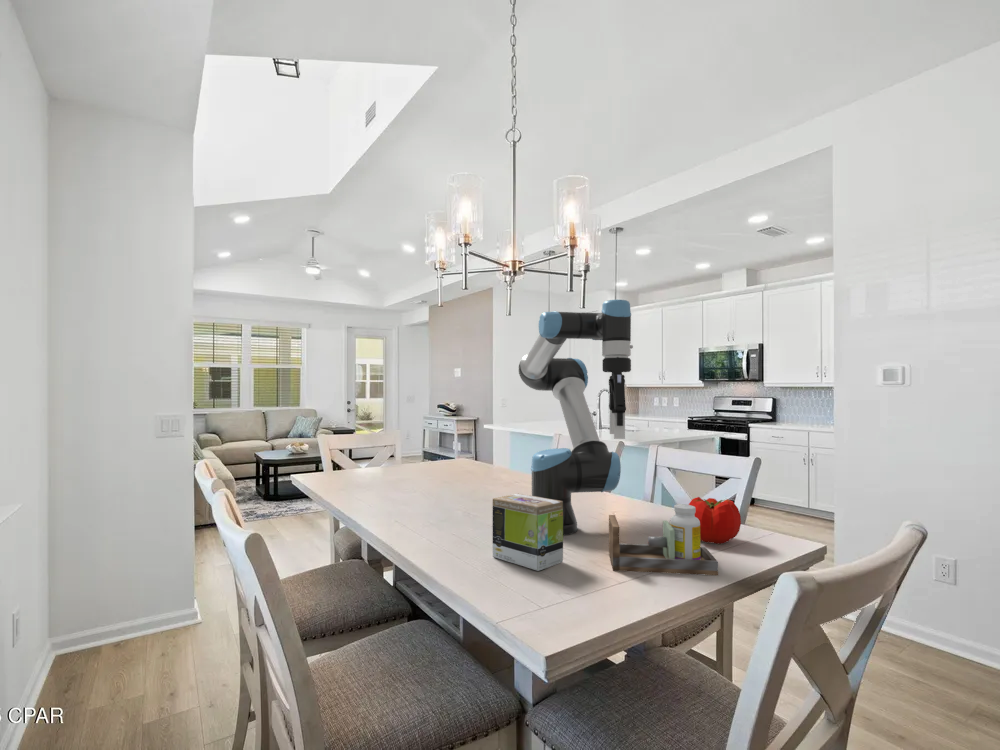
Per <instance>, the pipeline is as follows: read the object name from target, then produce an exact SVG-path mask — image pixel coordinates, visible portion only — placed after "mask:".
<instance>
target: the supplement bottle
mask: <svg viewBox="0 0 1000 750" xmlns="http://www.w3.org/2000/svg"><path fill="white" fill-rule="evenodd" d="M673 509H674V510H673V511H674V513H675V515H673V516H671V518H670V522H669V524H670V525H671V526H672V528H673V529H674V530H675V559H689V560H701V547H702V546H701V540H700V521H699V519H698V518H696V517H695V512H696V510H695V507H694V506H692V505H689V504H681V503H680V504H674V508H673Z"/></svg>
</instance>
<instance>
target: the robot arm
mask: <svg viewBox="0 0 1000 750" xmlns="http://www.w3.org/2000/svg"><path fill="white" fill-rule="evenodd" d="M631 321H632V312H631V303H630V301H628V300H627V299H610V300H604V301H603V303H602V308H601V312H575V311H574V312H573V311H571V312H570V311H556V310H554V311H544V312H542V313H541V314H540V316H539V321H538V333H539V336H538V337H536V338H537V339H536V340H535V341H534V344H533V345H532V347H531V349H530V351H529V352H528V353H527V354H525V355H524V356H522V358H521V360H520V362H519V364H518V374H519V377H520V379H521V381H522V382H523V383H524V384H525V385H526V386H527V387H528V388H530V389H532V390H535V391H542V392H543V391H545V392H547V391H551V393H552V395H553V398H555V399H556V400H559V404H560V408H561V411H562V414H563V417H564V421H565V424H566V427H567V430H568V435H569V437H570V442H571V445H572V447H573V449H572V450H571V449H570V448H566V447H560V448H557V447H556V448H549V449H544V450H539V451H537V452H535V453H534V454H533V456H532V458H531V468H530V471H531V496H536V497H542V498H547V499H553V500H559V501H563V536H568V535H573V534H575V533H576V532H577V531H578V522H577V521H578V520H577V519H576V514H575V512H574V508H573V506H572V493H573V494H574V493H599V492H600V493H604V492H610V491H612V492H613V491H614V490H615V489H616V488H617V487H618V485H619V482H620V479H621V471H622V470H621V468H622V466H621V465H622V464H621V459H620V456H619V454H618V453H617V452H616V451H615V452H614V451H609V449H608V446H607V444H606V443H605V442H604V441H602V440H600V438H599V434H598V432H597V429H596V426H595V423H594V419H593V417H592V414H591V411H590V409H589V405H588V402H587V399H586V396H585V393H584V392H585V390H586V388H587V386H588V383H589V375H588V369H587V365H586V364H585V363H584V362H583V361H582V360H581V359H579V358H572V357H567V358H566V357H565V358H564V357H563V358H560V357H558V358H557V357H555V356H556V355H557V354H558V352H559V350H560V349H561V347H562V346H563V345H564V344H565V342H566V341H567V339H575V340H576V339H578V340H579V339H581V340H582V339H584V340H592V341H602V342H601V345H602V347H601V350H602V352H601V356H602V357H604V358H603V359H602V372H603V373H611V375H609V379H608V385H609V387H608V389H609V390H608V391H609V392H608V393H609V400H608V401H609V402H608V409H609V434H610V435H613V439H615V440H618V439H619V440H626V411H627V406H626V394H625V391H626V388H625V384H626V380H625V375H624V374H623V373H630V372H631V371H632V360H631V358H630V356H631V354H632V352H631V349H634V346H633V344H631V339H632V335H631V332H632V327H631V326H632V322H631Z"/></svg>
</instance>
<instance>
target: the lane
mask: <svg viewBox="0 0 1000 750" xmlns="http://www.w3.org/2000/svg"><path fill="white" fill-rule="evenodd" d="M620 537H621V536H620V525H619V521H618V519H617V517H616V514H608V556H609V560H610V564H611V565H610V566H611V567H612V571H613V572H614V571H615V572H634V573H635V572H636V573H659V574H676V573H680V574H681V575H698V574H705V576H719V561H718V560H717V559H716V558H715V556H713V554H712V553H711V552H710V551H709V549H707V547H706V546H700V547H701V560H689V559H666V558H665V556H664V554H663V548H662V547H649V544H648V543H646V544H642V543H640V544H639V543H620V542H621V541H620V539H621V538H620ZM680 574H679V575H680Z"/></svg>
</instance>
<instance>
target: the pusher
mask: <svg viewBox="0 0 1000 750" xmlns="http://www.w3.org/2000/svg"><path fill="white" fill-rule="evenodd" d="M647 541H648V542H647V545H649V547H662V548H663V554H664V556H665V558H666V559H675V530H674V529H673V528H672V526H671V525H670V522H669V521H668V520H662V536H650V535H649V536H648V538H647Z"/></svg>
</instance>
